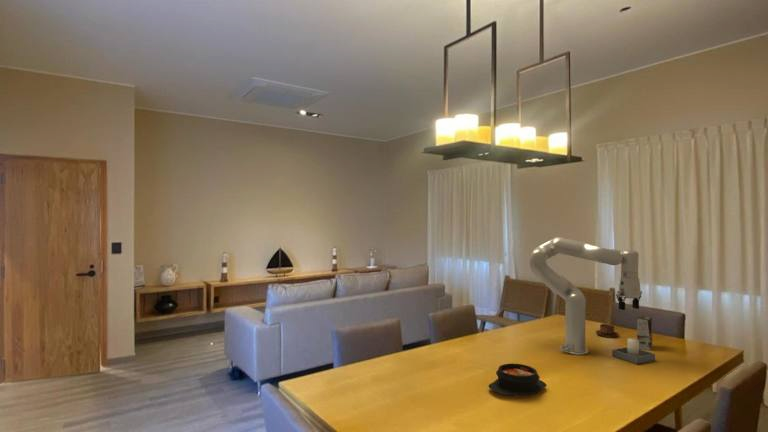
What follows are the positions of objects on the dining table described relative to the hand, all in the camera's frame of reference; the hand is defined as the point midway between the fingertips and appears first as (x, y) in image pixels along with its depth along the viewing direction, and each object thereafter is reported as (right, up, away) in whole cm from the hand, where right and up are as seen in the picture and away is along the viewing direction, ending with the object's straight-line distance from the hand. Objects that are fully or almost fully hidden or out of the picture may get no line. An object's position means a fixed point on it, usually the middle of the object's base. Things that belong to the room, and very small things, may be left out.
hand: (628, 308), depth 211 cm
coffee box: (+18, -25, +16) cm, 34 cm away
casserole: (-69, -24, -40) cm, 84 cm away
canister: (+1, -24, -3) cm, 24 cm away
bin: (+1, -24, -3) cm, 24 cm away
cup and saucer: (+10, -25, +39) cm, 48 cm away
